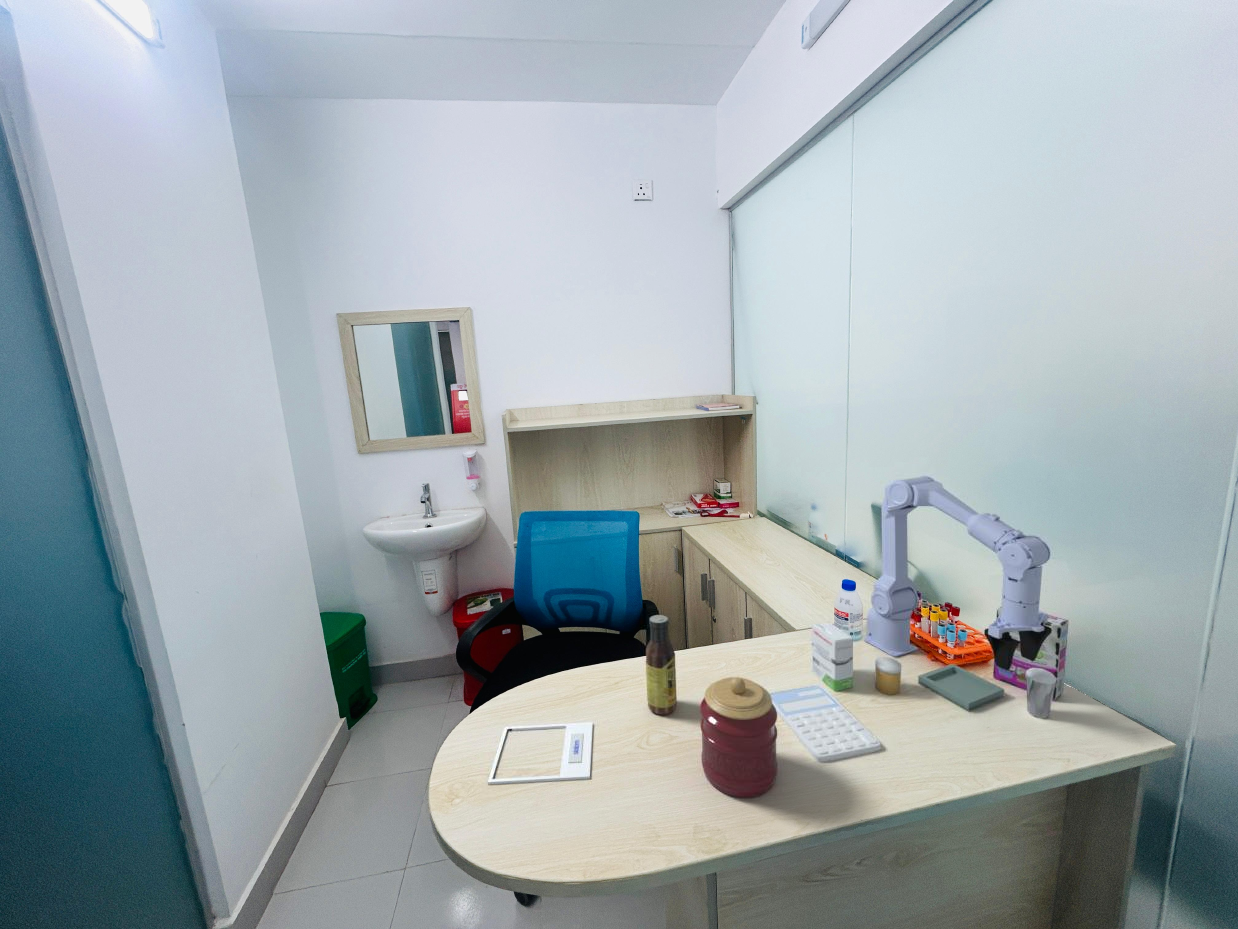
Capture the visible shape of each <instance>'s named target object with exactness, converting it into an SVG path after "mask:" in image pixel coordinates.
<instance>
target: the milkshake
mask: <svg viewBox="0 0 1238 929" xmlns="http://www.w3.org/2000/svg"><path fill="white" fill-rule="evenodd" d="M1062 673H1063V671H1062V672H1061V673H1060V674H1059V676H1060V675H1061V674H1062ZM1059 676H1058V677H1059ZM1058 677H1057V678H1056V677H1055V676H1054V675H1053V674H1052V673H1051V672H1049V671H1046V670H1044V669H1041V668H1030V669H1028V670H1027V671H1026V678H1027V690H1026V701H1027V702H1026V703H1027V704H1026V705H1027V706H1026V707H1027V708H1026V709H1027V712H1028V714H1029V715H1031V716H1033V717H1035V718H1037V719H1038V718H1039V719H1048V718H1049V716H1050V713H1051V708H1052V702H1053V700H1052V698H1053V693H1054V689H1055V684H1056V680H1057V679H1058Z"/></svg>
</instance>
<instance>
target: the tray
mask: <svg viewBox="0 0 1238 929" xmlns="http://www.w3.org/2000/svg"><path fill="white" fill-rule="evenodd" d="M917 678H918V679H917V681H918V682H917V684H918V685H920V686H922V687H924V688H925V689H927V690H929V691H930V692H933V693H934V694H936V695H938V696H940V697H942V698H944V700H945V699H946V700H947V701H949V702H951V703H952V704H954V705H955V706H957V707H960V708H961V709H963V710H965V712H966V711H967V712H971V711H973V710H976V709H978V708H982V707H983V706H986V705H988V704H990V703H994V702H995V701H997V700H1000V699H1003V698H1004V697H1005V688H1003V687H1000V686H999V685H997V684H995V683H992V682H991V681H989V680H987V679H984V678H983V677H980V676H978V675H976V674H975V673H973V672H970V671H969V670H966V669H964V668H962V667H960V666H958V665H957V664H954V663H950V664H948V665H945V666H942V667H939V668H936V669H933V670H931V671H928V672H925V673H922V674H920V675H917Z"/></svg>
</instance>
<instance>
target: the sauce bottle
mask: <svg viewBox="0 0 1238 929" xmlns="http://www.w3.org/2000/svg"><path fill="white" fill-rule="evenodd" d="M648 622H649V623H648V624H649V627H650V628H649V629H650V636H649V637H650V640H649V642H648V643H647V645H646V648H645V659H646V660H645V675H646V697H647V698H646V700H647V706H648V709H649V710H650V712H652V713H654V714H656V715H661V716H662V715H663V716H664V715H665V716H666V715H669V714H671V713H672V712H674V711H675V709H676V706H677V674H676V672H677V671H676V653H675V650H674V648H673V645H672V642H671V640H670V634H669V624H670V622H669V618H668V617H667V616H665V615H663V614H656V615H652V616H650V617H649V620H648Z"/></svg>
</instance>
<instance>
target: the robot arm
mask: <svg viewBox="0 0 1238 929" xmlns="http://www.w3.org/2000/svg"><path fill="white" fill-rule="evenodd" d="M918 507H932V508H933V507H934V508H935V509H937V510H939V511H940V512H942V513H943V514H945V515H947V516H949V517H951V518H952V519H953V520H955V521H957V522H959V523H960V524H963V525H964V526H966V527H967V528H966V530H967V533H968V535H969V536H971V537H972V538H973V539H975V540H976V541H978V542H979V543H981V544H982V545H983V546H985V547H987V548H988V549H990V550H991V551H993V552H994V553H995V554H997V558H998V560H999V562H1000V563H1001V565H1002V573H1003V580H1002V589H1001V605H1000V607H1001V614H1000V615H999V617H998V618H997V617H996V619H995V620H994V622H993V623H991V624H988V627H987V628H985V629H984V631H983V635H984V637H986V640H987V641H988V643H989V644H990V647H991V649H992V650H991V651H992V654H993V659H994V658H995V662H996V666H998V667H1000V668H1002V669H1005V670H1009V669H1010V667H1011V664H1012V659H1013V655H1014V652H1015V650H1016V648H1017V646H1018V645H1019V644H1020V652H1021V656H1022V657H1024V658H1026V659H1028V660H1031V661H1035V659H1036V657H1037V654H1038V652H1039V650H1040V648H1041V645H1042V644H1043V642H1044V641H1045V639H1046V638H1047V637H1048V636H1049V635H1050V634H1051V633H1052V629H1051V628H1050V627H1048V626H1045V625H1043V624H1045V623H1047V620H1048V615H1049V614H1048V613H1046V612H1044V611H1040V601H1041V599H1040V597H1041V590H1042V589H1041V586H1042V577H1043V576H1042V575H1043V565H1044V564H1046V563H1047V562H1049V560H1050V558H1051V550H1050V547H1049V546H1048V544H1047V542H1045V541H1044V540H1043V539H1042V538H1041V537H1039V536H1037V535H1032V534H1024V532H1023V531H1021V530H1020V529H1015V528H1014V527H1012V526H1010V525H1009V524H1007V523H1006V522H1004V521H1002V520H1001V516H999V515H998V514H995V513H993V514H991V513H989V512H983V513H978V511H976V510H975V509H973V508H972V507H970V506H969V505H967V504H966V503H965V502H963V501H962V500H961V499H959V498H958V497H956V496H955V495H954V494H952V493H951V492H949V491H948V490H947V489H945V487H944V486H943V483H941V482H939V481H936V480H935V479H934V478H933V477H931V476H928V475H921V476H919V477H918V476H917V477H912V478H905V479H895V480H893V481H892V482H890V483H889V484H888V485H886V486H884V498H883V501H882V503H881V560H882V561H881V562H882V564H881V565H882V566H881V568H882V569H881V572H882V573H881V576H880V577H879V578H878V579H877V580H876V581H875V582H874V584H873V592H872V594H871V596H870V602H871V603H870V604H871V606H872V607H871V608H870V609H869V610H868V613H867V615H866V637H864V638H863V641H864V642H866V643H868V644H870V645H872V646H874V647H875V648H877V649H879V650H881V651H882V652H884V653H887V654H889V655H891V656H892V657H894V658H897V657H900V656H902V655H906V654H909V653H912V652H915V651H918V647H917V646H915V645H914V644H911V643H910V640H911V639H910V636H911V616H912V614H913V610H914V609H916V608H917V607H918V605H919V596H918V593H917V590H916V583H915V581H913V579H911V578H910V577H909V575H908V573H909V572H908V571H909V570H908V568H909V567H908V563H909V562H908V514H909V513H911V512H913V510H915V509H916V508H918ZM1013 631H1018V632H1019V636H1020V641H1018V640H1016V639H1013V638H1011V636H1010V632H1013Z"/></svg>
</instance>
